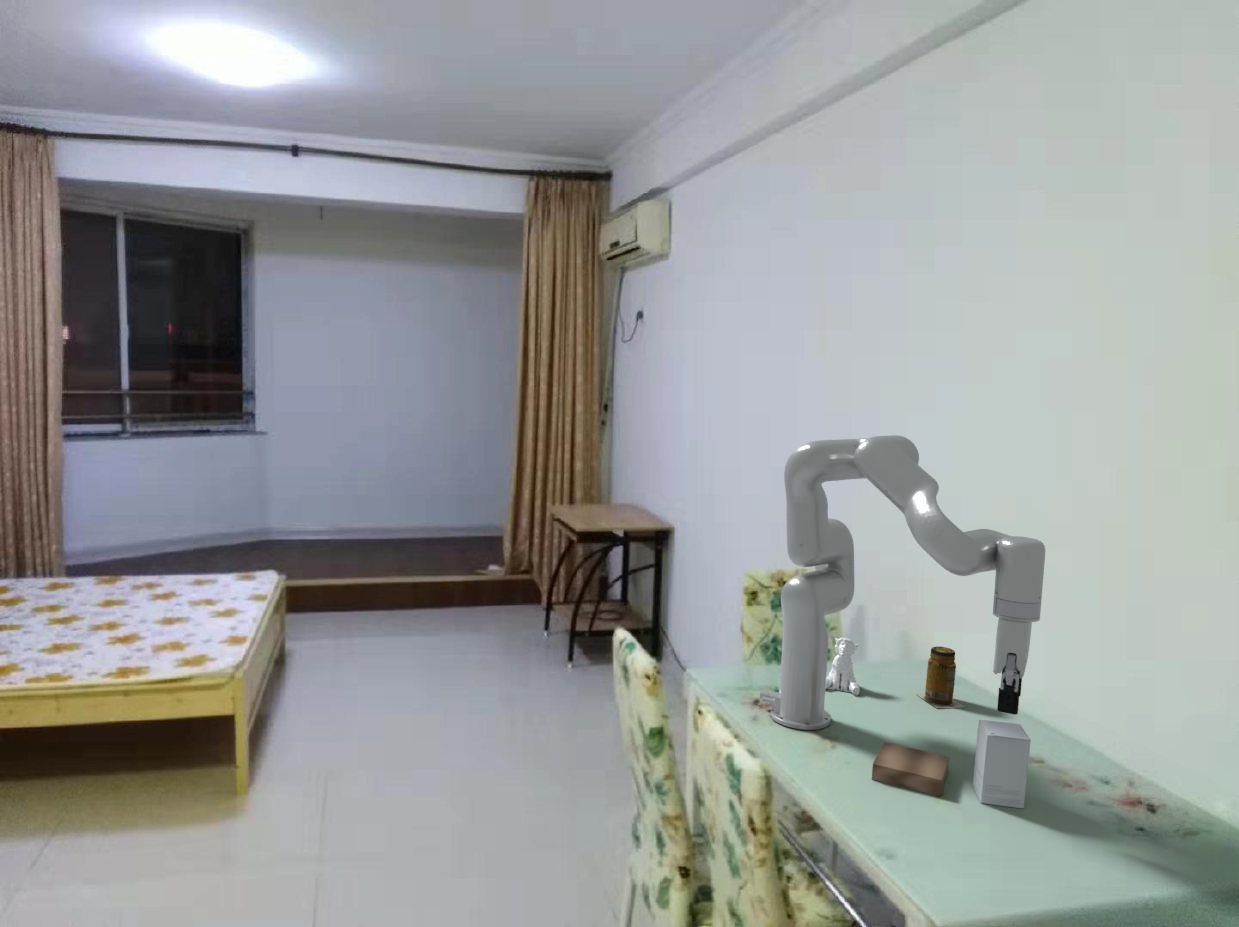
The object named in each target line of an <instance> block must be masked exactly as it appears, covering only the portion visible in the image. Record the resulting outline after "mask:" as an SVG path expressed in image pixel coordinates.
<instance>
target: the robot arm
mask: <svg viewBox="0 0 1239 927" xmlns="http://www.w3.org/2000/svg"><path fill="white" fill-rule="evenodd" d="M919 461H920V453H919V450H918V448H917V446H916V445H915V443H914V442H913V441H911V440H910V439H908V438H907V437H905V436H902V435H894V434H893V435H876V436H875V435H874V436H872V437H868V438H866V437H863V438H849V439H848V438H847V439H846V438H845V439H843V438H842V439H822V440H813V441H810V442H808V443H804V444H802V445H800V446H799V447H797V448H796V449H795V450H794V451H792V453H791V454H790V455H789V457H788V459H787V460H786V464H785V465H784V473H783V475H784V478H783V479H784V488H785V500H786V510H785V511H786V548H787V549H786V550H787V555H788V557H789V559H790V561H791V563H793V564H794V565H796V566H798V567H802V568H812V567H815V568H814V569H815V570H813V571H808V572H804V573H800V574H797V575H794V576H793V577H791V578H789V579H788V580H787V581H786V582H785V584H784V585H783V587H782V589H781V593H780V606H781V613H782V642H781V646H782V647H781V659H780V661H781V662H780V675H779V690H778V691H775V692H770V691H769V690H767V691H766V690H761V691H760V692H759V699H760V700H761V703H762V704H769V705H772V707H771V708H770V713H769V714H770V717H771V718H772V720H773V721H775V722H776V723H778V724H779V725H783V726H784V727H788V728H791V729H797V730H805V731H812V730H814V731H815V730H820V729H824V728H826V727H828V726H829V725H830V724H831V720H832V719H831V718H832V717H831V715H830V713H829V712H828V711H827V710H825V696H826V690H825V686H826V677H827V671H828V659H829V658H828V655H829V632H828V629H827V628H828V627H827V625H826V622H825V617H826V616H828V615H831V614H835V613H838V612H841V611H843V610H845V609H847V608H848V607H849V605H851V603H852V601H853V598H854V596H855V544H854V540H853V536H852V534H851V531H850V529H849V528H848V526H847V525H846V524H845V523H844V522H842V521H841V520H839V519H836V518H829V514H828V512H829V506H828V505H829V504H828V502H829V501H828V498H827V495H826V492H825V489H824V488H823V486H822V485H823V483H827V482H833V481H834V482H838V481H845V480H846V481H847V480H849V481H850V480H860V479H862V480H863V479H867V480H868V482H870V484H872V485H873V486H874V487H875V488H876V489H878V491H879V492H880V493H881V494H883V495H884V497H886V498H887V499H888V500H889V501H890V502H891V504H893V505H894V506H895V507H896V508H897V509H898V510H899V511H901V513H902V514H903V515H904V518H905V522H906V524H907V526H908V528H909V530H910V532H911V535H912V537H913V538H914V539H915V541H916V543H917V544H918V545H919V546H920V548H921V549H923V551H925V552H926V553H927V555H929V557H931V558H932V560H934V562H936V563H937V564H938V565H940V567H942V568H943V569H944V570H946V571H947V572H949V573H951V574H954V575H956V576H960V577H968V576H972V575H976V574H979V573H985V572H991V571H995V578H994V581H995V582H994V593H993V602H992V603H993V605H992V615H993V616H995V618H996V617H997V618H998V621H997V626H996V635H995V636H996V638H995V647H994V648H995V650H994V660H993V673H994V675H998V674H1001V676H1000V677H1001V678H1000V687H999V688H998V696H997V708H996V710H997V711H998V712H1000V713H1003V714H1009V715H1018V713H1019V703H1020V697H1021V694H1022V681H1023V678H1024V676H1025V672H1026V667H1027V663H1028V659H1029V652H1030V645H1031V637H1032V636H1031V635H1032V625H1033V623H1036V622H1039V621H1040V620H1041V608H1042V598H1043V585H1044V575H1045V574H1044V573H1045V560H1046V546H1045V544H1044V543H1043V542H1042V541H1041V540H1039V539H1036V538H1033V537H1028V536H1027V537H1026V536H1017V535H1016V536H1015V535H1014V536H1012V535H1010V534H1005V533H1003V532H1000V531H996V530H993V529H989V528H979V529H973V530H967V531H963V530H962V529H960V528H959V527H958V526H957V525H956V524H955V523H953V521H951V519H949V518H948V517H947V516H946V515H945V513H944V512H943V511H942V509H941V508H940V506H939V505H938V504H939V503H938V501H937V496H938V493H939V488H940V487H939V483H938V481H936V479H935V478H934V477H932V476H931V475H930V474H929V473H928V472H927V471H926V470H924V469H923V468H922V467H921V466H920V465H919Z"/></svg>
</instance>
